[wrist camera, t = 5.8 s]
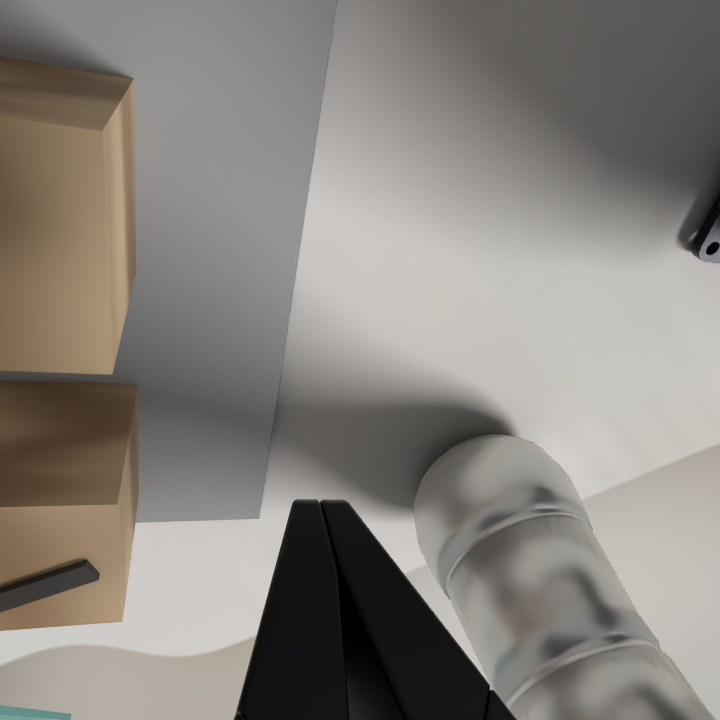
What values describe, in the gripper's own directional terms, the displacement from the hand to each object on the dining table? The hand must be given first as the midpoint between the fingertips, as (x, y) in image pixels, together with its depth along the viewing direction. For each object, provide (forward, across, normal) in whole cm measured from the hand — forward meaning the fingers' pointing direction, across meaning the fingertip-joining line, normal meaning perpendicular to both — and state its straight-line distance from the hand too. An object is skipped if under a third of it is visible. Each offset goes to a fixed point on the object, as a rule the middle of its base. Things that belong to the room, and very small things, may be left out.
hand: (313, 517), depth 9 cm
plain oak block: (+10, +6, -2) cm, 12 cm away
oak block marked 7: (+10, +6, +8) cm, 14 cm away
